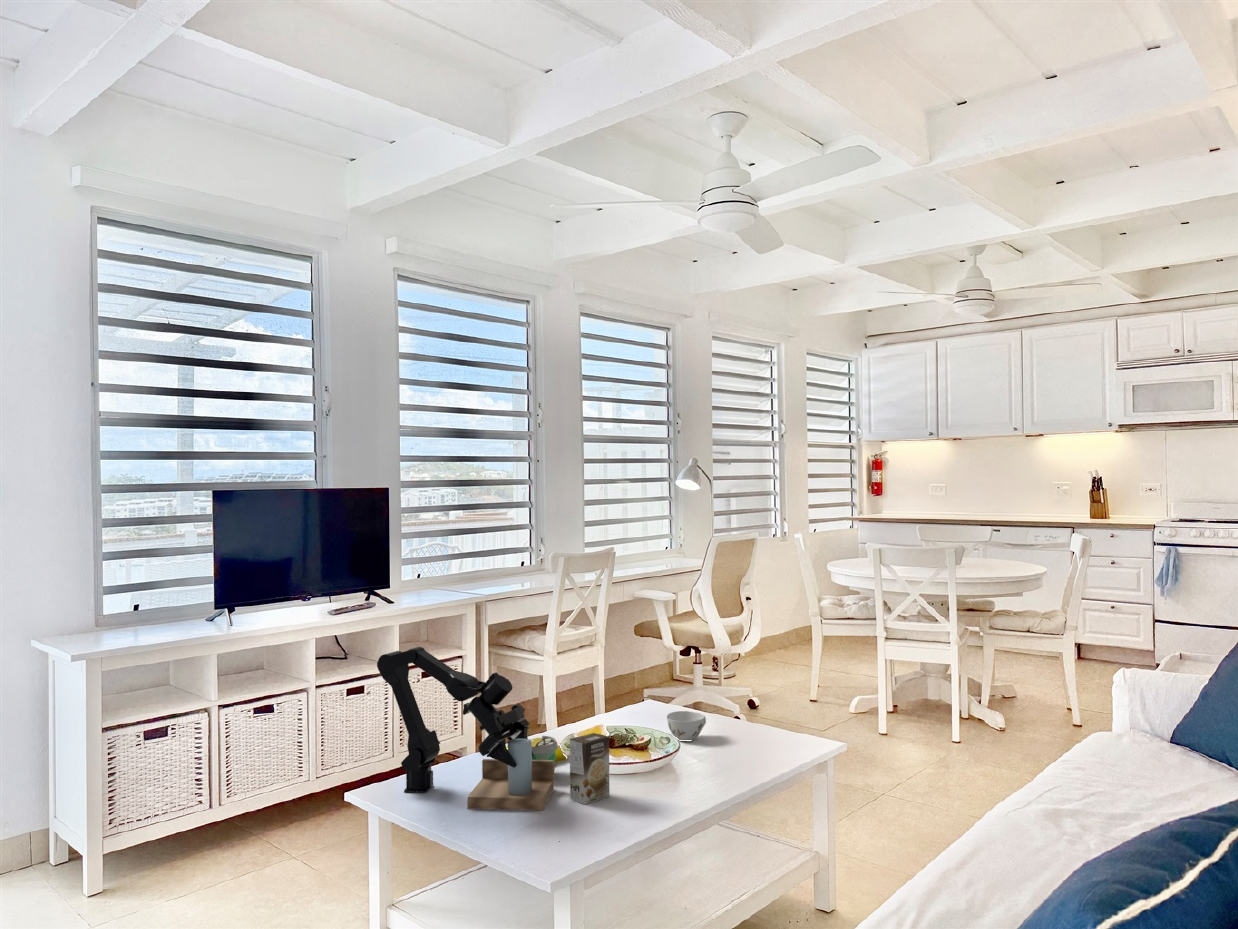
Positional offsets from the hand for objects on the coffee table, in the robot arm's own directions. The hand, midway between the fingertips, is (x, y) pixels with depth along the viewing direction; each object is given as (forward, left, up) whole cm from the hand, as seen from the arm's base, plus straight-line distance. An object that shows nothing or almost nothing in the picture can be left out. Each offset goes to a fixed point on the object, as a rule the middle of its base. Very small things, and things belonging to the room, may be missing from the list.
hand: (524, 761), depth 226 cm
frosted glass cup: (-1, 0, -8) cm, 8 cm away
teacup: (+42, +62, -11) cm, 76 cm away
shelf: (-4, +3, -11) cm, 12 cm away
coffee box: (+17, +5, -11) cm, 21 cm away
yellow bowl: (-5, +38, -12) cm, 40 cm away
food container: (+2, +22, -11) cm, 25 cm away
